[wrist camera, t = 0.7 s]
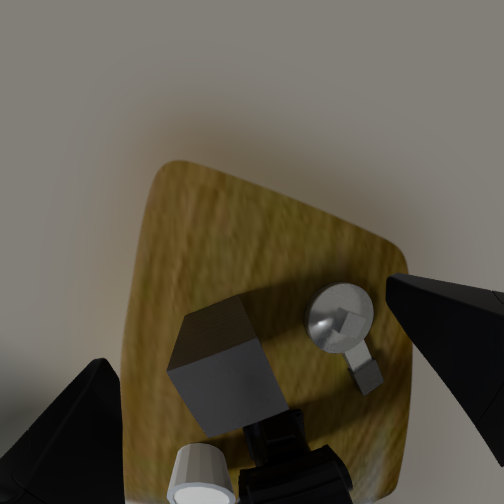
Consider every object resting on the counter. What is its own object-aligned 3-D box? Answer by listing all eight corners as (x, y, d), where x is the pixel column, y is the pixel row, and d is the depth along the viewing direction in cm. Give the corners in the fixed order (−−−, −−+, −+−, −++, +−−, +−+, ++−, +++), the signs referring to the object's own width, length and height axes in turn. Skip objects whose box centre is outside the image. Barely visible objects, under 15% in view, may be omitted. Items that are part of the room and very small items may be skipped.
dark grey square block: (259, 343, 25) (289, 408, 14) (208, 363, 25) (208, 437, 14) (238, 294, 25) (257, 337, 14) (184, 315, 24) (166, 371, 13)
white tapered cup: (217, 480, 26) (220, 519, 19) (164, 464, 25) (158, 505, 18) (239, 448, 26) (247, 491, 19) (182, 431, 25) (178, 475, 18)
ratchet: (291, 305, 25) (303, 316, 22) (350, 268, 26) (369, 272, 22) (342, 399, 27) (356, 415, 23) (390, 365, 28) (407, 377, 24)
